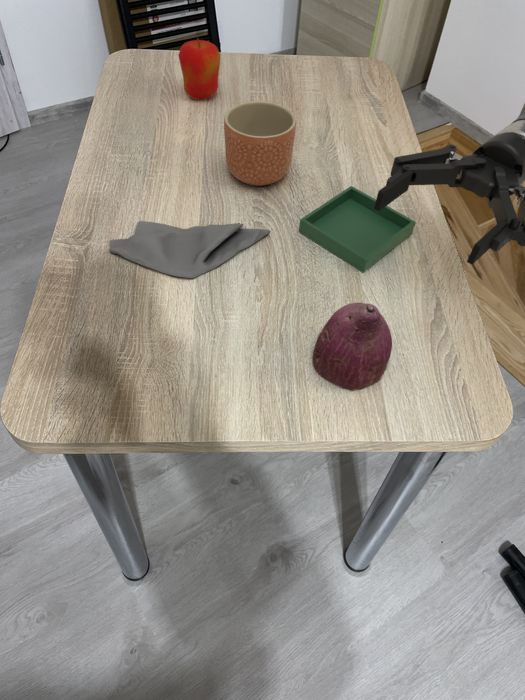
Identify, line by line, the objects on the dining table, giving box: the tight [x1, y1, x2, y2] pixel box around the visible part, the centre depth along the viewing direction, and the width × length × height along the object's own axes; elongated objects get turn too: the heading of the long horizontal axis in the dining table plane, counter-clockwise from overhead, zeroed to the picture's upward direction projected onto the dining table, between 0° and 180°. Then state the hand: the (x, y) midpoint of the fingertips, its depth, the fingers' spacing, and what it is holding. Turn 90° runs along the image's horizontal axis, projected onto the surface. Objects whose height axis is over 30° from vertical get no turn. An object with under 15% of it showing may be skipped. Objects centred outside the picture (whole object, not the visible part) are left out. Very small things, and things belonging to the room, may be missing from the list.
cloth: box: [108, 220, 271, 279], centre depth 86 cm, size 26×14×2 cm, turn 90°
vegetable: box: [312, 302, 393, 391], centre depth 69 cm, size 10×10×15 cm
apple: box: [178, 37, 221, 100], centre depth 113 cm, size 9×8×12 cm
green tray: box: [298, 185, 417, 273], centre depth 90 cm, size 14×14×3 cm
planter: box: [223, 100, 297, 187], centre depth 96 cm, size 12×12×11 cm
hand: (423, 227), depth 65 cm, fingers open, 13 cm apart
